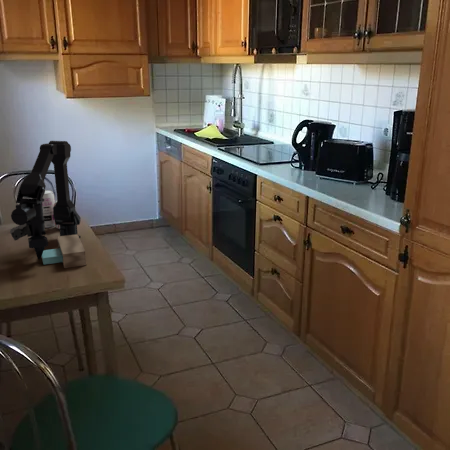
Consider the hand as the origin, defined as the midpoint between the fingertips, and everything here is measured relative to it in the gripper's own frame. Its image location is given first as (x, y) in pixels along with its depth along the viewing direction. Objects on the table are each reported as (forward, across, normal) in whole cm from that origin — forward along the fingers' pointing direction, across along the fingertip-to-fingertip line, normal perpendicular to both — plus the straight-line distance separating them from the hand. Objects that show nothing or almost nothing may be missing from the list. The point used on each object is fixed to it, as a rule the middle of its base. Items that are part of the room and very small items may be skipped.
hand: (39, 258), depth 185 cm
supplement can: (+1, -43, +6) cm, 44 cm away
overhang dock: (+1, 0, +11) cm, 11 cm away
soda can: (+1, -37, +12) cm, 39 cm away
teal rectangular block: (+1, 0, +7) cm, 7 cm away
